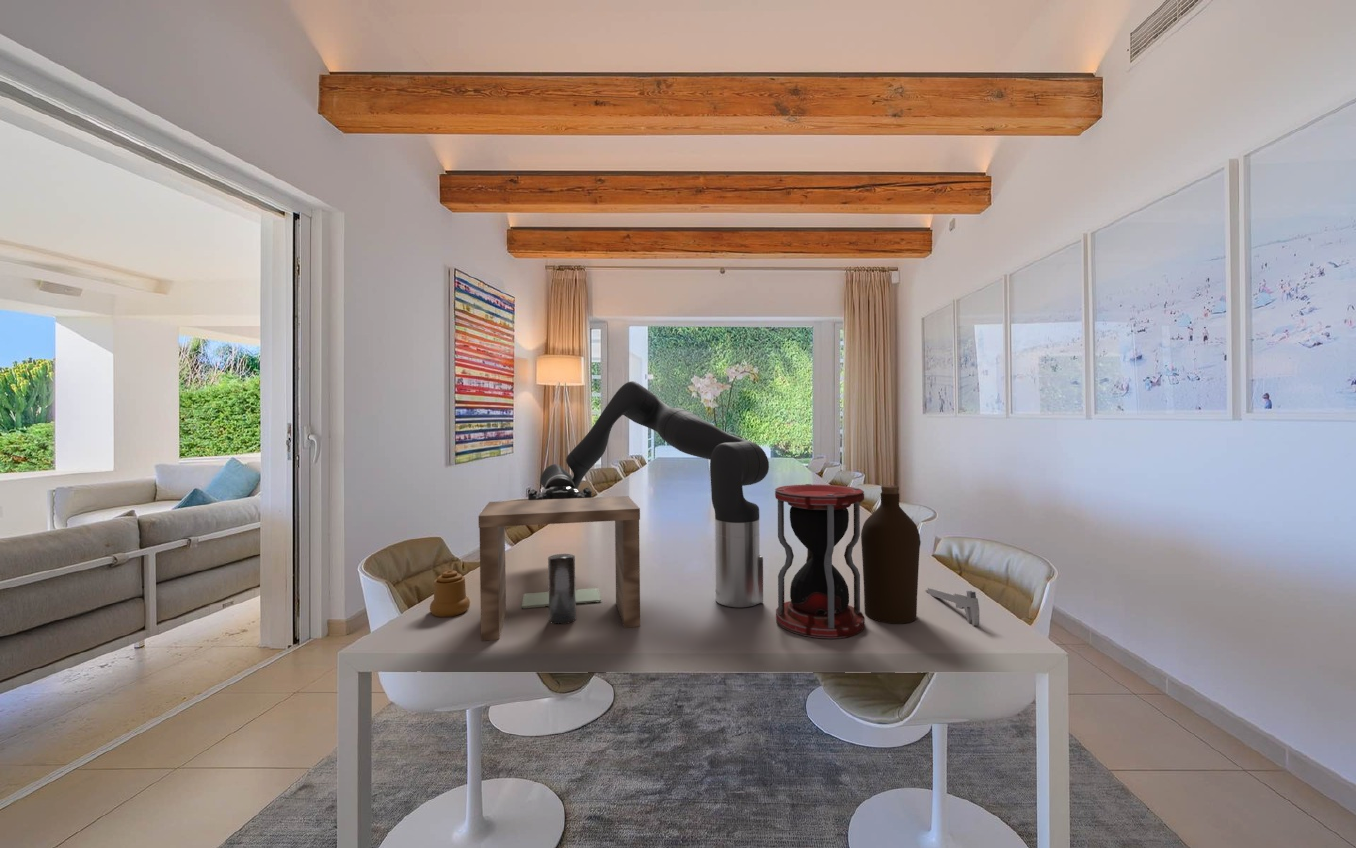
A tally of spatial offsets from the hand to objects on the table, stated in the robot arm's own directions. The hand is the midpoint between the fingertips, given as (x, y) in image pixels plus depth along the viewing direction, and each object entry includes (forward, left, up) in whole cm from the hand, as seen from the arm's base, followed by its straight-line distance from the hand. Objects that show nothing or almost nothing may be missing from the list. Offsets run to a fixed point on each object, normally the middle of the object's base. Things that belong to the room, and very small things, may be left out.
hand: (560, 501), depth 122 cm
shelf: (0, +16, -20) cm, 26 cm away
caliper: (-76, +28, -21) cm, 84 cm away
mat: (0, +4, -20) cm, 21 cm away
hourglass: (-47, +29, -20) cm, 59 cm away
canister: (0, +16, -20) cm, 26 cm away
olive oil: (-62, +29, -20) cm, 72 cm away
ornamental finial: (+22, +6, -21) cm, 31 cm away
